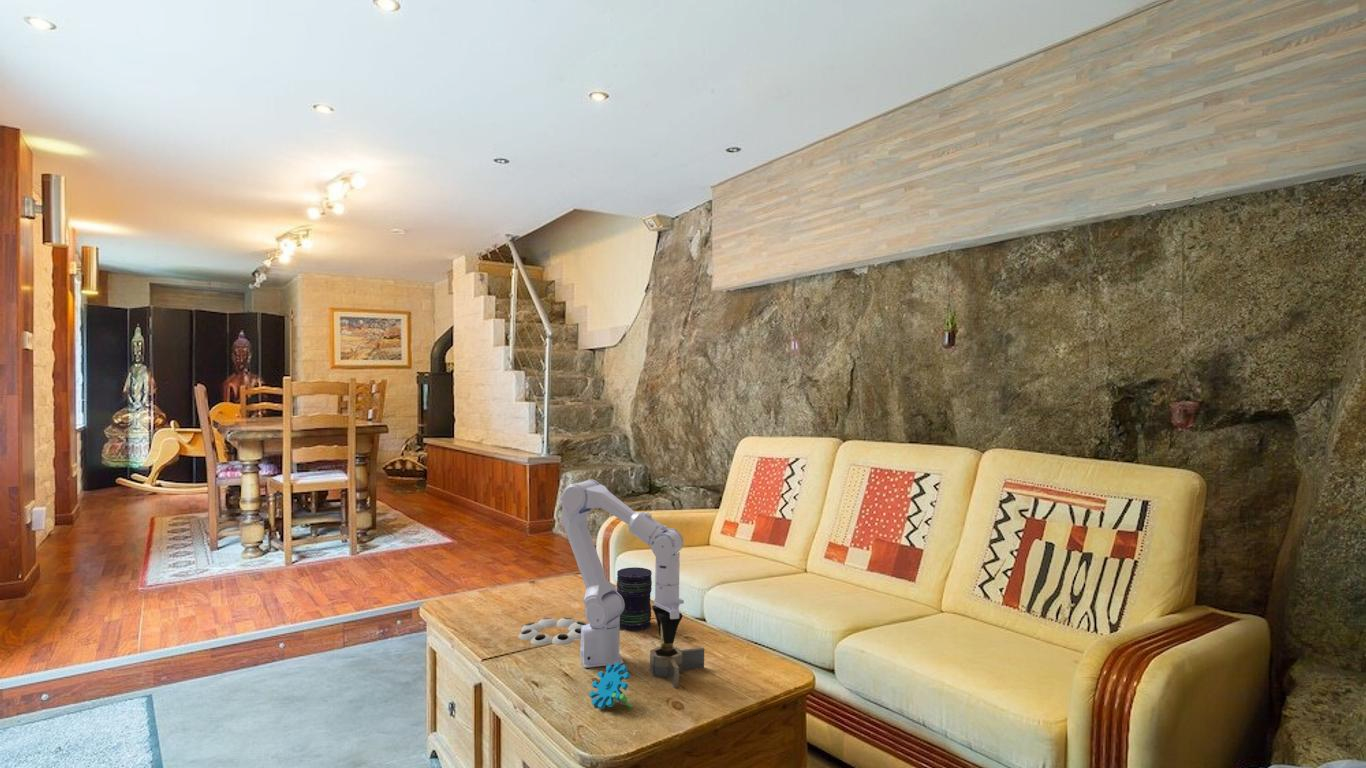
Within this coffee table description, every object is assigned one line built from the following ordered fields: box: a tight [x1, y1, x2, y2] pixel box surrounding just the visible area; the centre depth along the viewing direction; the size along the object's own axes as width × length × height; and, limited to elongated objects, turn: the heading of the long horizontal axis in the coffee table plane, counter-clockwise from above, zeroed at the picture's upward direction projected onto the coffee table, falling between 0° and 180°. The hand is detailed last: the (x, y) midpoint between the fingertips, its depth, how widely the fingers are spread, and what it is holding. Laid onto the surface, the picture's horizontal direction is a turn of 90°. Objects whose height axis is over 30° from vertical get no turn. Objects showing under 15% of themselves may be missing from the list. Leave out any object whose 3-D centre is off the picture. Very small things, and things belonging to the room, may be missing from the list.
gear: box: [589, 662, 633, 710], centre depth 146 cm, size 11×6×10 cm
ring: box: [517, 617, 588, 646], centre depth 186 cm, size 20×20×2 cm
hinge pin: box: [660, 612, 674, 651], centre depth 162 cm, size 4×4×8 cm
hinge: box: [649, 645, 705, 689], centre depth 160 cm, size 13×13×4 cm
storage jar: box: [616, 567, 653, 632], centre depth 192 cm, size 10×10×15 cm
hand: (666, 639), depth 162 cm, fingers closed on hinge pin, 4 cm apart
